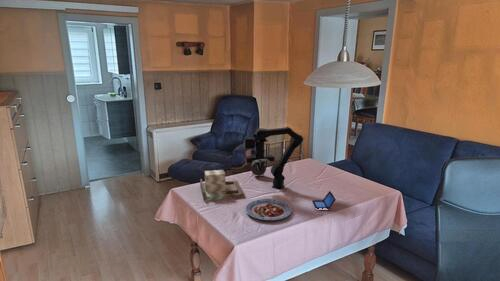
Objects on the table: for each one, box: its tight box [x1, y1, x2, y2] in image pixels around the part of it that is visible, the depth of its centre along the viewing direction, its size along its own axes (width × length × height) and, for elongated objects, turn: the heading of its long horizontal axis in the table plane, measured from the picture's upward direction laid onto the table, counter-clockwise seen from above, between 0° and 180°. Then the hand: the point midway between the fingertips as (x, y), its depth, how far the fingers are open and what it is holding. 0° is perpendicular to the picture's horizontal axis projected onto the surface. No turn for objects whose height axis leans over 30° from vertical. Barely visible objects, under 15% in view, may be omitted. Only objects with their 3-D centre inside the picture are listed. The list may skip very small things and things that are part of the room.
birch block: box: [204, 169, 226, 192], centre depth 204 cm, size 12×8×11 cm, turn 104°
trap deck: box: [199, 178, 245, 202], centre depth 206 cm, size 25×22×6 cm
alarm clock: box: [250, 160, 267, 178], centre depth 233 cm, size 11×5×16 cm, turn 84°
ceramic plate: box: [244, 198, 292, 221], centre depth 181 cm, size 26×26×3 cm
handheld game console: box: [311, 190, 336, 210], centre depth 188 cm, size 12×11×7 cm
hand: (259, 171), depth 210 cm, fingers closed
